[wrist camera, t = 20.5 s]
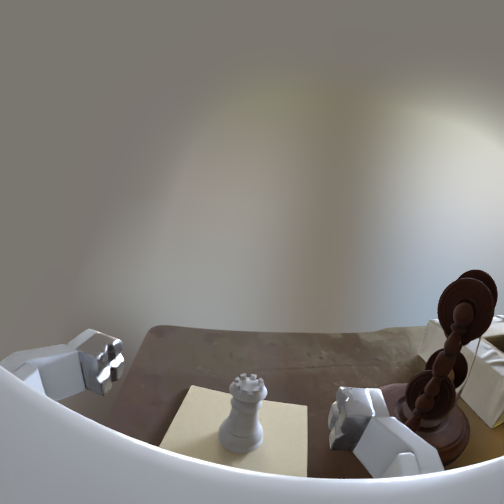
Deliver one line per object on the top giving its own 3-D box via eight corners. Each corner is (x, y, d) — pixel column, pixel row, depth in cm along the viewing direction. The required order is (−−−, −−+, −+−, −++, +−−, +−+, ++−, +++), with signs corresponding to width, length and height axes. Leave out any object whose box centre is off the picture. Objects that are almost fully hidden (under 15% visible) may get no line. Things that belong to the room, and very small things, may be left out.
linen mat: (146, 471, 19) (146, 469, 19) (191, 387, 33) (191, 384, 33) (304, 504, 18) (306, 502, 18) (306, 408, 31) (307, 406, 31)
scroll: (435, 498, 16) (549, 316, 11) (329, 435, 27) (387, 259, 22) (470, 425, 25) (534, 284, 21) (389, 385, 36) (432, 250, 32)
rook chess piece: (248, 462, 22) (261, 406, 20) (208, 442, 24) (212, 384, 22) (269, 435, 26) (284, 378, 24) (232, 418, 28) (240, 361, 26)
